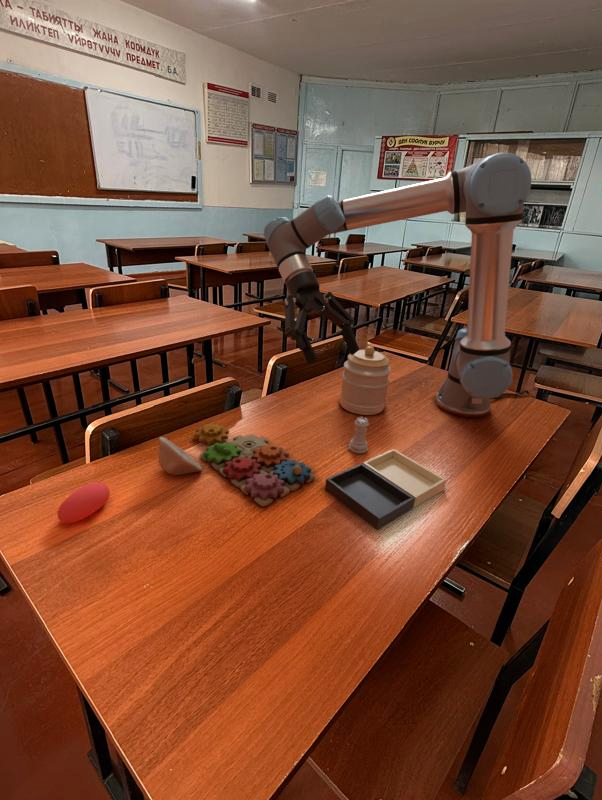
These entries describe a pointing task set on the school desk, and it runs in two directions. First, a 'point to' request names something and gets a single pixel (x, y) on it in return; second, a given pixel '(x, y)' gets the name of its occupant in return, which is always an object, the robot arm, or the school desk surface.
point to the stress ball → (83, 502)
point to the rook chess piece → (359, 436)
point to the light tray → (407, 475)
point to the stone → (175, 459)
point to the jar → (365, 382)
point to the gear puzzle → (253, 464)
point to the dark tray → (369, 495)
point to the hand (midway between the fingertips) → (335, 357)
